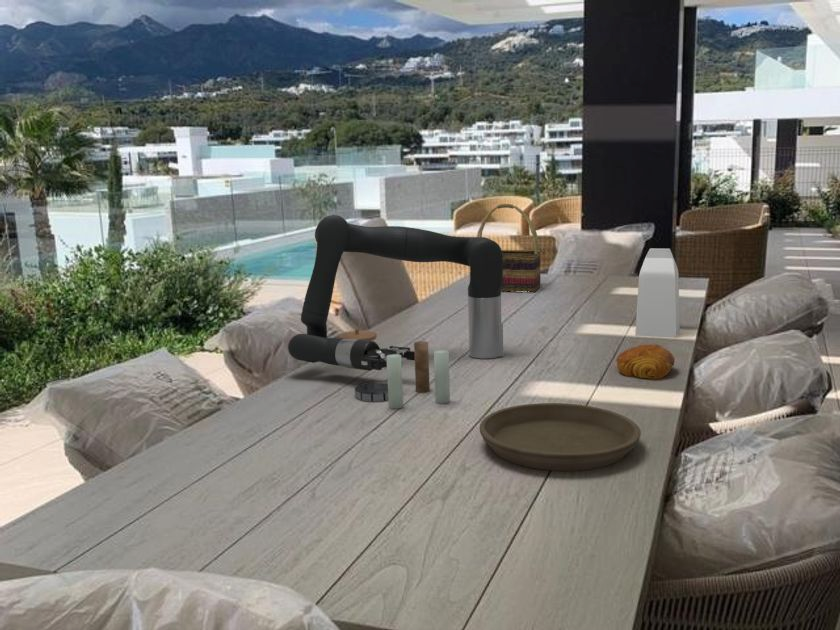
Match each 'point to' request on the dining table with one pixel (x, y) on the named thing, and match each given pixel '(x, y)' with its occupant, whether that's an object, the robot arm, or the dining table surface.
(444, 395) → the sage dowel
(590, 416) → the plant saucer
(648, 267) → the milk
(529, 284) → the basket
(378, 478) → the dining table surface
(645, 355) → the croissant
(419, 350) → the walnut dowel
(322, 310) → the robot arm
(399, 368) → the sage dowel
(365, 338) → the lidded jar
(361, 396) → the ring
